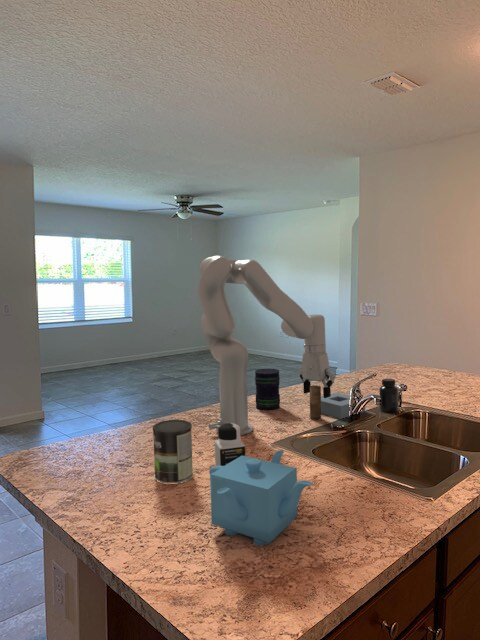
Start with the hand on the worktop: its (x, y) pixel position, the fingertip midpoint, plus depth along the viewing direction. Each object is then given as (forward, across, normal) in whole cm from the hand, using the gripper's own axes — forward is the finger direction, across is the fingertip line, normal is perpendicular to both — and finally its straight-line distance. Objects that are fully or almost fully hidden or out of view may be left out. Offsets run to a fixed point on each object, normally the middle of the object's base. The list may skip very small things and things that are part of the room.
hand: (317, 394), depth 172 cm
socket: (+9, 0, +12) cm, 15 cm away
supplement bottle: (+10, +12, +27) cm, 31 cm away
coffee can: (+7, +9, -66) cm, 67 cm away
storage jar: (+9, -23, -4) cm, 25 cm away
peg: (+9, 0, -1) cm, 9 cm away
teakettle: (+8, +44, -66) cm, 79 cm away
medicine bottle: (+8, +14, -51) cm, 53 cm away
